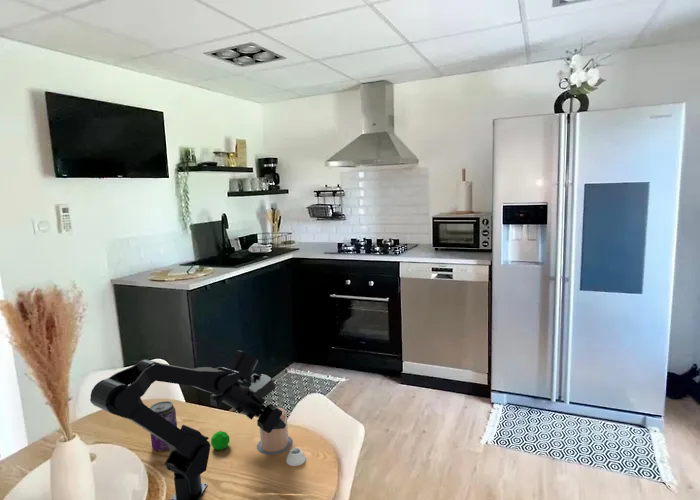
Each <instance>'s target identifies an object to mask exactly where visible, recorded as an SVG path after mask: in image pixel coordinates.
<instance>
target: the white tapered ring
mask: <svg viewBox="0 0 700 500" xmlns="http://www.w3.org/2000/svg"><path fill="white" fill-rule="evenodd" d="M306 458H307V457H306V456H305V454H304V452H303V451H302V449H301V448H300V447H294V448H291V449H290V450H289V453H288V455H287V456H286V460H285V462H286V464H287V465H289V466H291V467H297V466H300V465H303V464H304V463H305V462H306Z"/></svg>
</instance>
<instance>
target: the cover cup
mask: <svg viewBox="0 0 700 500" xmlns="http://www.w3.org/2000/svg"><path fill="white" fill-rule="evenodd" d="M276 407H277V406H276ZM277 408H278V409H280V410H281V411H282V415H281V417H280V418H281V420H282V421H283V422H284V423H285V424H286V426H285V428H284V429H272V431H271V432H270V433H267V432H265V431H264V430H262V429H261V428H260V427H259V437H260V438H259V439H260V440H261V447H262V449H263V450H265V451H267V452H276V451H279V450H282V449H284V448H285V447H286V446H287V445H288V442H289V441H288V436H289V430H288V429H289V427H288V418H287V411H286V409H284V408H282V407H277ZM263 411H264V410H263ZM260 416H261V414H259V416H258V418H259V417H260Z"/></svg>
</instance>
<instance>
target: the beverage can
mask: <svg viewBox="0 0 700 500" xmlns="http://www.w3.org/2000/svg"><path fill="white" fill-rule="evenodd" d="M149 408H150V409H151V410H153V411H154V412H156V413H157V414H159V415H160V416H162V417H163V418H164V419H166V420H167V421H169V422H170V423H172V424H173V425H175V426H176V427H178V422H177V414H176V408H175V406H174V403H173V402H172V401H171V400H170V401H169V400H166V401H165V400H164V401H158V402H156V403H154V404H152V405H151V406H150V407H149ZM149 433H150V432H149ZM150 440H151V441H150V442H151V447H152V449H153V450H156V451H166V450H170V449H169V447H168V445H167V444H166V443H165V442H164V441H162V440H161V439H159V438H157V437H156V436H154V435H153V434H151V433H150Z"/></svg>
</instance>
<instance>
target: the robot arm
mask: <svg viewBox="0 0 700 500" xmlns="http://www.w3.org/2000/svg"><path fill="white" fill-rule="evenodd" d="M258 362H259V360H258V358H257V357H256V356H255V357H254V356H252V355H250V354H248V353H245V351H242V350H238V349H237V350H236V352H235V354H234V357H233V359H232V360H231V362H230V364H229V366H228V367H222V366H220V367H215V368H214V367H211V366H204V367H203V366H202V367H195V368H188V367H183V366H177V365H173V364H172V365H171V364H169V363H167V364H166V363H161V362H156V361H154V360H150V359H142V360H140V361H139V362H136V363H135V364H134V365H132V366H130V367H128V368H126V369H123V370H121V371H117V372H116V373H114V374H113V375H111V376H110V377H108V378H103V379H102V380H100V381H98V382H97V383H96V384H95V385H94V386H93V388H92V389H91V392H90V399H89V401H90V403H91V404H92V405H93V406H95V407H97V408H99V409H102V410H103V411H105V412H108V413H110V414H112V415H114V416H117V417H121V418H124V419H127V420H129V421H131V422H132V423H134V424H135V425H137V426H139V427H140V428H142V429H144V430H145V431H147V432H149V433H151V434H153V435H154V436H156V437H157V438H159V439H161V440H162V441H164V442H165V443H166V444H167V445H168V447H169V449H168V450H170V453H169V456H168V457H167V459H166V461H165V462H164V466H165V468H166V469H167V470H168V471H170V472H172V473H173V476H174V477H173V482H174V492H175V493H174V494H173V496H172V497H171V499H170V500H200V498H201V497H202V496H203V494H204V493H205V491H206V489H207V488H208V483H207V482H206V483H204V482H202V476H201V475H202V474H203V473H205V472H206V471H207V467H208V462H209V457H210V453H211V452H210V451H211V447H212V445H211V442H210V441H208V440H209V437H208V436H206V435H204V434H202V433H201V431H199V430H198V429H195V428H193V427H191V426H188V425H185V424H182V425H181V427H180V428H179V427H178V426H177V427H176V426H175V425H173V424H172V423H170V422H169V421H167V420H166V419H164V418H163V417H162V416H160V415H159V414H157V413H156V412H154V411H153V410H151V409H150V407H148V405H146V404H145V403H144V401H143V399H142V397H143V396H144V395H145V394H146V392H147V391H148V390H149V388H150V386H151V385H152V384H154V383H155V382H162V383H167V384H175V385H176V384H177V385H183V386H188V387H189V386H190V387H193V388H195V389H198V390H201V391H204V392H207V393H210V395H209V398H210V405H211V406H214V407H220V406H221V404H222V403H224V404H225V405H228V406H229V407H231V408H233V409H234V410H235V411H236V412H238V413H239V414H243V415H244V416H246V417H247V418H249V419H250V420H253V419H254V417H258V418H257V421H256V422H257V423H256V425H257V427H259V429H260V428H261V429H262V430H264V431H265V432H267V433H270V432H271V431H272V429H284V428H285V426H286V424H285V423H284V422H283V421H282V420H281V418H280V417H281V415H282V411H281V410H280V409H278V408H279V407H278V408H277V406H275V404H271V403H270V404H266V405H264V404H265V403H266V399H265V397H267V396H268V395H269V394H270V393H271V392H272V391H275V390H276V388H277V386H276V384H275V381H273V379H272V377H270V376H269V375H267V374H263V373H261V374H260V375H259V374H257V373H253V372H254V371H255V369H256V366H257V364H258ZM249 380H250V386H249V387H248V386H246V385H241V384H240V383H244V381H245V382H246V383H247V382H248V381H249ZM238 382H240V383H238ZM263 410H264V411H263ZM259 414H261V416H260V417H259ZM151 434H150V435H151Z"/></svg>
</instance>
